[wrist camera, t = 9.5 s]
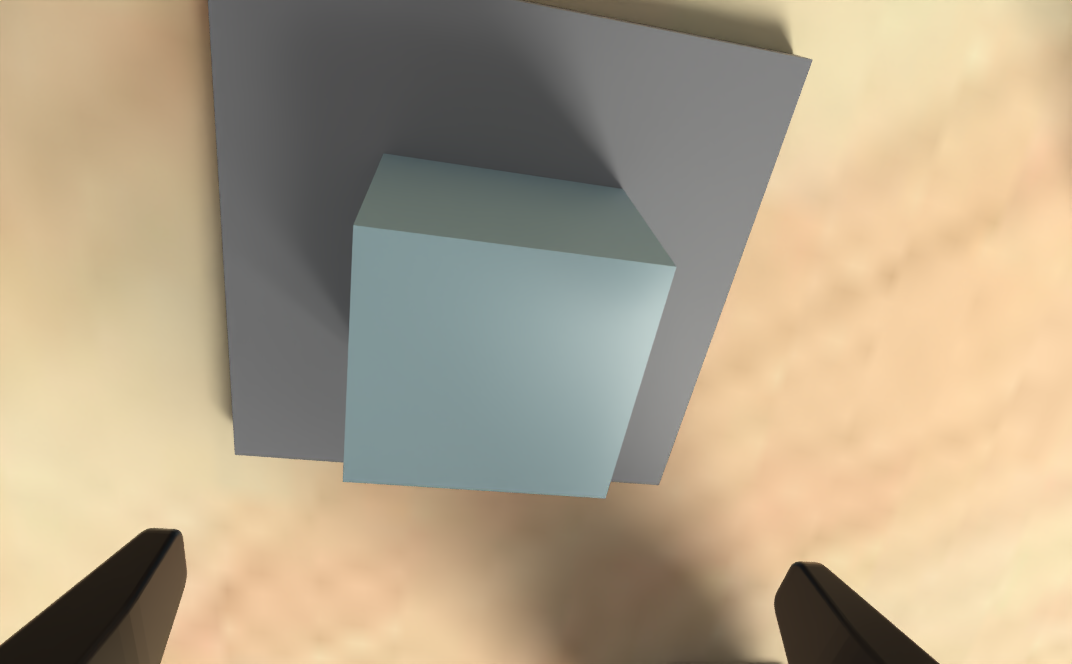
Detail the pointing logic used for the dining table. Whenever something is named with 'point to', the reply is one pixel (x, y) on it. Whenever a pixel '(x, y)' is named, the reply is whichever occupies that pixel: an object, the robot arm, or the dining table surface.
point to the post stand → (479, 141)
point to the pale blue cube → (496, 329)
